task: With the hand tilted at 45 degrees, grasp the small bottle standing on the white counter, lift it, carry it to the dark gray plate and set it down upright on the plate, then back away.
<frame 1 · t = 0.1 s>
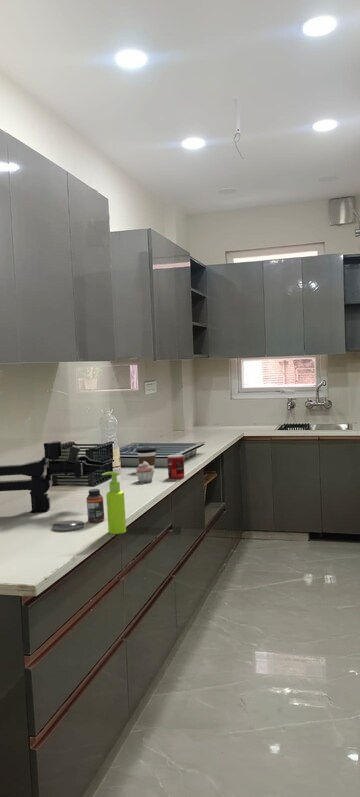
hand: (102, 465, 242), 17 cm above the worktop, tool horizontal, fingers open, 9 cm apart
supplement bottle: (96, 521, 220), on the worktop
canned food: (176, 478, 301), on the worktop
coffee cup: (147, 471, 325), on the worktop
soap dispenser: (115, 532, 204), on the worktop
dark gray plate: (68, 527, 213), on the worktop
cupcake: (145, 481, 295), on the worktop
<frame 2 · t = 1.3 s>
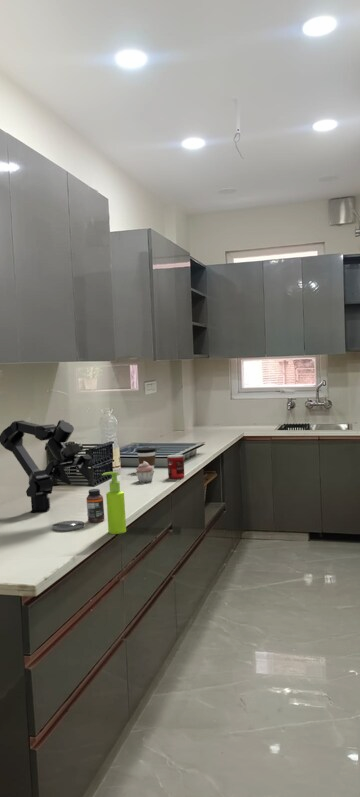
hand: (80, 482, 225), 13 cm above the worktop, tool tilted 45°, fingers open, 9 cm apart
nothing on the worktop moved.
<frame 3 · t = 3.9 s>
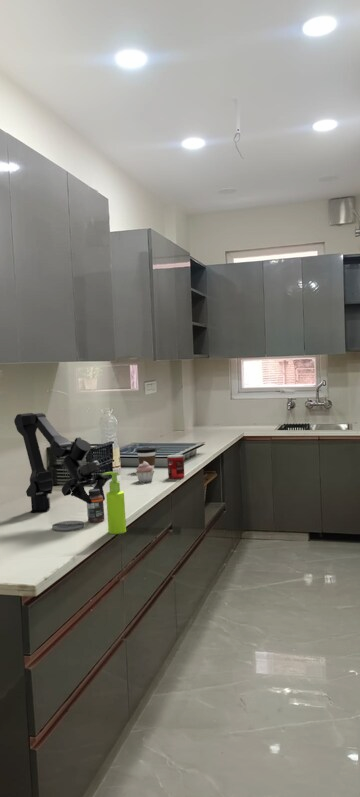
hand: (97, 501, 219), 7 cm above the worktop, tool tilted 45°, fingers closed on supplement bottle, 6 cm apart
supplement bottle: (96, 521, 220), on the worktop, touching gripper
everything else where it was.
when the fingers open (9 cm above the worktop, at t = 7.4 s): supplement bottle stays where it is, resting on dark gray plate.
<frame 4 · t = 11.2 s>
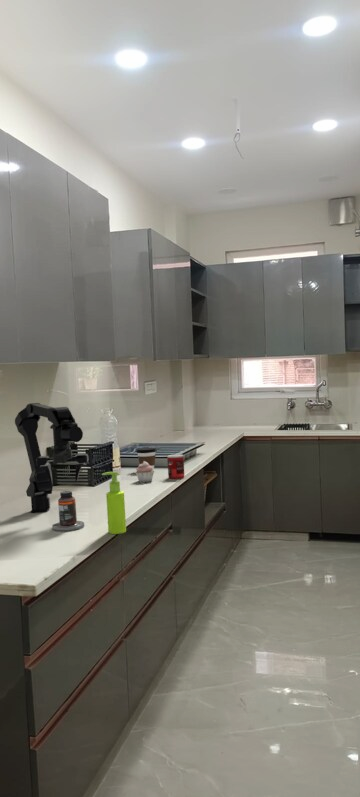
hand: (64, 482, 228), 13 cm above the worktop, tool pointing down, fingers open, 9 cm apart
supplement bottle: (68, 524, 213), point 1 cm above the worktop, touching dark gray plate
everything else where it was.
at the end: supplement bottle 0.2 cm from the dark gray plate (horizontally); supplement bottle tilted 0°; the gripper is holding nothing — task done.
